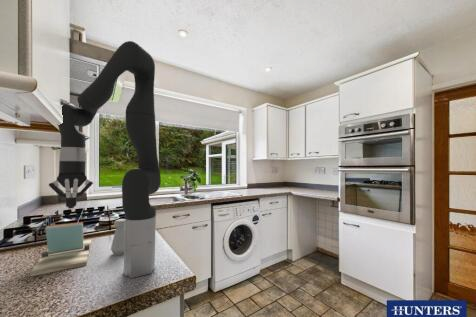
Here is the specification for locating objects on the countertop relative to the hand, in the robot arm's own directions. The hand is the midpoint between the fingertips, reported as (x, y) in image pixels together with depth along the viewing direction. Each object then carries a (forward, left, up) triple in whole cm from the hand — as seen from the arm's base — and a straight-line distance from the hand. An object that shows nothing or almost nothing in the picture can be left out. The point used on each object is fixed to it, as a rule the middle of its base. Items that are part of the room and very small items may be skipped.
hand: (71, 208), depth 74 cm
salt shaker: (-2, -16, -19) cm, 25 cm away
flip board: (+6, +1, -19) cm, 20 cm away
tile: (+3, +1, -11) cm, 12 cm away
